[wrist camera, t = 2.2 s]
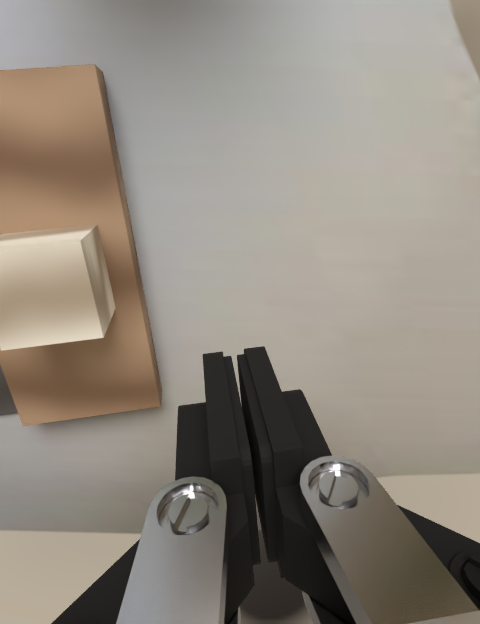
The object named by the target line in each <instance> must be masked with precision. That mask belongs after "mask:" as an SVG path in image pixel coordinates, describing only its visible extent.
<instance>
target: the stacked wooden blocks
mask: <svg viewBox="0 0 480 624" xmlns="http://www.w3.org/2000/svg"><path fill="white" fill-rule="evenodd" d="M89 225H98V230H99V235H100V239H101V244H102V248H103V253H104V257H105V262H106V266H107V271H108V275H109V280H110V284H111V289H112V293H113V298H114V303H115V307H116V308H115V311H114V313H113V316H112V318H111V321H110V323H109V326H108V328H107V331H106V333H105V336H104V338H98V339H90V340H82V341H74V342H66V343H58V344H50V345H42V346H35V347H27V348H19V349H11V350H3V351H1V349H0V415H3V414H10V413H17V412H18V414H19V417H20V419H21V422H22V425H23V426H28V425H35V424H42V423H49V422H56V421H63V420H70V419H77V418H84V417H91V416H98V415H105V414H111V413H118V412H125V411H132V410H139V409H146V408H153V407H160V406H161V394H162V388H161V383H160V377H159V372H158V366H157V361H156V356H155V350H154V345H153V340H152V334H151V329H150V324H149V318H148V313H147V308H146V302H145V297H144V291H143V286H142V281H141V275H140V270H139V265H138V259H137V254H136V249H135V243H134V238H133V233H132V227H131V222H130V216H129V211H128V206H127V200H126V195H125V190H124V184H123V179H122V174H121V168H120V163H119V158H118V152H117V147H116V141H115V136H114V131H113V125H112V120H111V115H110V109H109V104H108V99H107V93H106V88H105V83H104V77H103V72H102V71H101V70H100V69H99V68H98V67H97V66H96V65H95V64H93V65H77V66H62V67H46V68H31V69H16V70H0V235H2V234H10V233H20V232H30V231H39V230H49V229H59V228H69V227H79V226H89Z"/></svg>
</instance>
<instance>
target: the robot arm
mask: <svg viewBox="0 0 480 624" xmlns="http://www.w3.org/2000/svg"><path fill="white" fill-rule="evenodd" d="M237 361H238V372H239V383H240V393H241V402H240V397H239V392H238V387H237V382H236V378H235V373H234V368H233V363H232V358H231V356H226V357H223V352H216V353H208V354H203V366H204V381H205V395H206V402H204V403H197V404H190V405H182V406H179V407H178V424H177V449H176V474H175V481H174V482H171V483H170V484H168V485H167V486H165V487H164V488H163V489H161V490H160V491H159V492H158V494H157V495H156V496H155V497H154V498H153V500H152V503H151V505H150V507H149V509H148V513H147V516H146V520H145V524H144V527H143V531H142V534H141V538H140V539H139V540H138V541H137V542H136V543H135V544H134V545H133V546H132V547H131V548H130V549H129V550H128V551H127V552H126V553H125V554H124V555H123V556H122V557H121V558H120V559H119V560H117V561H116V562H115V563H114V564H113V565H112V566H111V567H110V568H109V569H108V570H107V571H106V572H105V573H104V574H103V575H102V576H101V577H100V578H99V579H98V580H97V581H95V582H94V583H93V584H92V585H91V587H89V588H88V589H87V590H86V591H85V592H84V593H83V594H82V595H81V596H80V597H79V598H78V599H77V600H76V601H74V602H73V603H72V605H70V606H69V607H68V608H67V609H66V610H65V611H64V612H63V613H62V614H61V615H60V616H59V617H58V618H57V619H56V620H55V621H54V622H53V623H52V624H240V621H241V620H240V619H241V616H240V607H239V606H240V604H241V603H242V602H243V600H244V599H245V598H246V596H247V595H248V593H249V592H250V590H251V589H252V588H253V586H254V575H253V565H257V564H260V563H261V560H260V549H259V538H258V526H257V514H256V502H257V507H258V512H259V517H260V522H261V528H262V533H263V538H264V543H265V548H266V554H267V559H268V562H274V561H277V562H278V567H279V571H280V576H281V578H283V577H285V578H286V580H287V581H289V582H291V583H292V584H293V585H295V586H296V587H298V588H299V589H301V590H302V591H303V597H304V601H305V604H306V607H307V610H308V612H309V615H310V617H311V619H312V622H313V624H480V543H478V542H476V541H474V540H471V539H469V538H467V537H465V536H463V535H461V534H459V533H456V532H454V531H452V530H450V529H448V528H446V527H444V526H441V525H439V524H437V523H435V522H433V521H431V520H429V519H426V518H424V517H422V516H420V515H418V514H416V513H414V512H411V511H409V510H407V509H405V508H403V507H401V506H398V505H396V503H395V502H394V501H393V499H392V498H391V497H390V495H389V494H388V493H387V492H386V491H385V489H384V488H383V486H382V485H381V484H380V483H379V481H378V480H377V479H376V477H375V476H374V475H373V474H372V473H371V472H370V471H369V470H368V469H367V468H366V467H365V466H364V465H362V464H361V463H359V462H357V461H355V460H353V459H350V458H346V457H343V456H332V454H331V452H330V450H329V448H328V446H327V443H326V441H325V439H324V437H323V435H322V433H321V431H320V428H319V426H318V424H317V422H316V420H315V418H314V415H313V413H312V411H311V409H310V407H309V405H308V403H307V400H306V398H305V396H304V394H303V392H302V391H301V390H300V389H299V390H292V391H285V392H282V391H281V389H280V386H279V384H278V381H277V378H276V376H275V373H274V370H273V368H272V365H271V363H270V360H269V357H268V355H267V352H266V349H265V347H264V346H263V347H255V348H247V349H244V354H242V355H237ZM241 404H242V407H241ZM255 496H256V502H255Z"/></svg>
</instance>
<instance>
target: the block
mask: <svg viewBox="0 0 480 624" xmlns="http://www.w3.org/2000/svg"><path fill="white" fill-rule="evenodd" d="M115 308H116V307H115V303H114V298H113V293H112V289H111V284H110V280H109V275H108V271H107V266H106V262H105V257H104V253H103V248H102V244H101V239H100V235H99V230H98V225H89V226H79V227H69V228H59V229H49V230H39V231H30V232H20V233H10V234H2V235H0V349H1V351H3V350H11V349H19V348H27V347H35V346H42V345H50V344H58V343H66V342H74V341H82V340H90V339H98V338H104V336H105V333H106V331H107V328H108V326H109V323H110V321H111V318H112V316H113V313H114V311H115Z"/></svg>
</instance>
